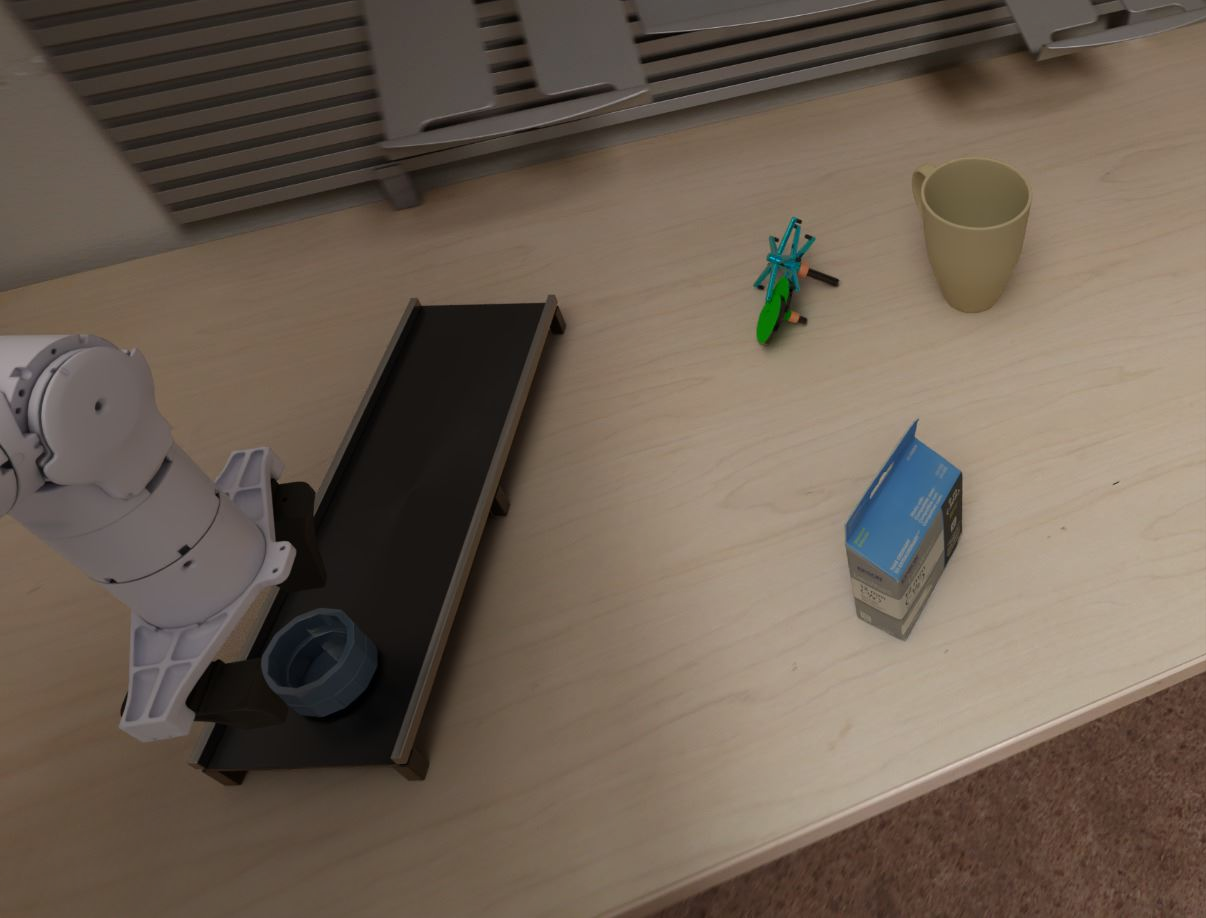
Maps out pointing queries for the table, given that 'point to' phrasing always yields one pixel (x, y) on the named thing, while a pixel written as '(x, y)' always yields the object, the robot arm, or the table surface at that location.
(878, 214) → the table surface
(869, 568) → the label tape box
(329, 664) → the cup
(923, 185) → the mug
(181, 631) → the robot arm
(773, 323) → the stick construction toy
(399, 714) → the conveyor belt
